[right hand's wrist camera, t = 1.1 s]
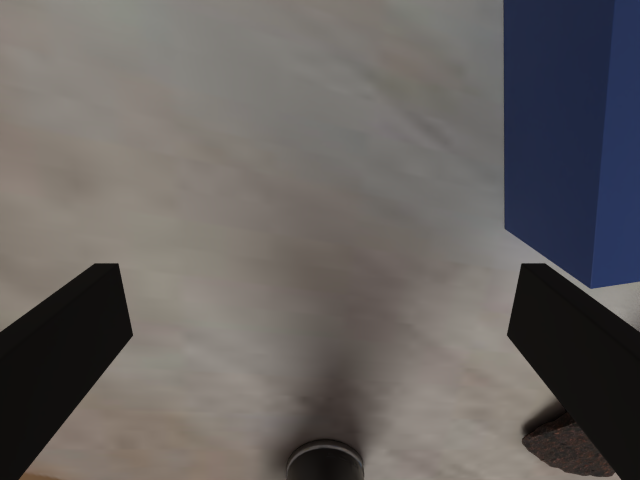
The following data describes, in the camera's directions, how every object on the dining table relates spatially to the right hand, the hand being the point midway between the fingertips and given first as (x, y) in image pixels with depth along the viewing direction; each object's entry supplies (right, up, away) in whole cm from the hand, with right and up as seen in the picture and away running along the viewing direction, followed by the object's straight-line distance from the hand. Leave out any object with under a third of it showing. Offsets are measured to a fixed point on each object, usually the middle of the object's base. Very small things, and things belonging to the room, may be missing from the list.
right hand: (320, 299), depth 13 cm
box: (+19, +13, +19) cm, 30 cm away
